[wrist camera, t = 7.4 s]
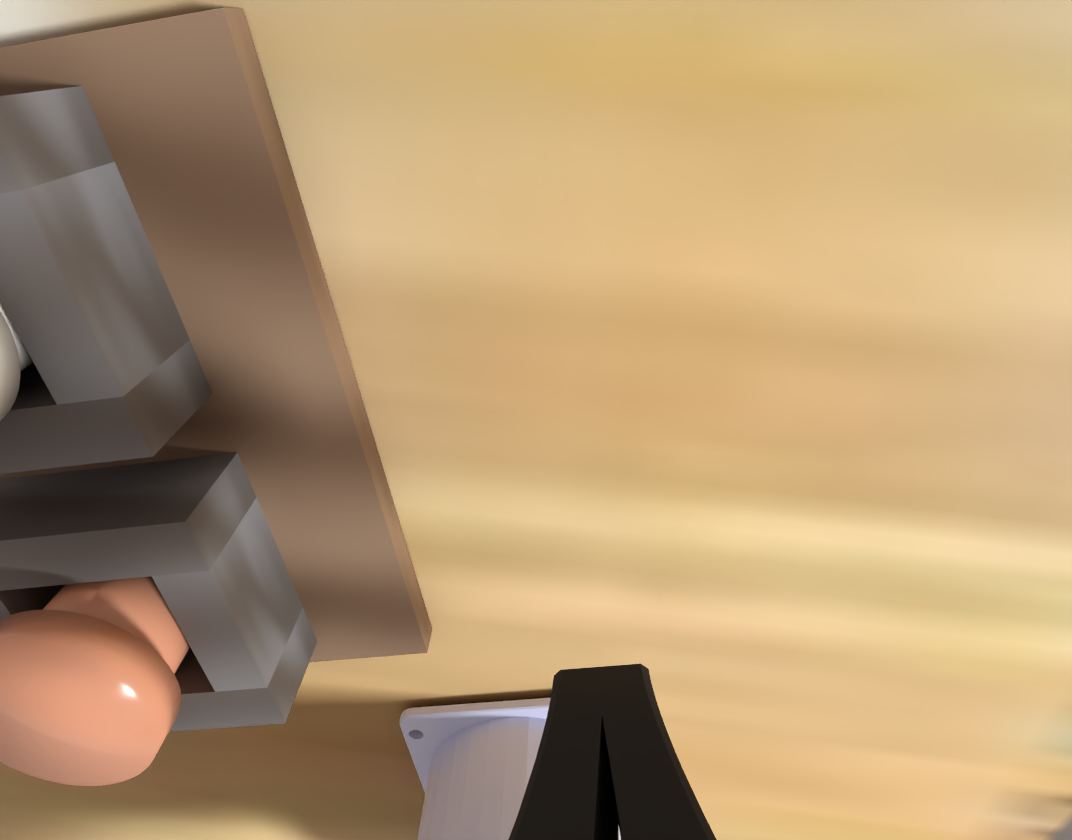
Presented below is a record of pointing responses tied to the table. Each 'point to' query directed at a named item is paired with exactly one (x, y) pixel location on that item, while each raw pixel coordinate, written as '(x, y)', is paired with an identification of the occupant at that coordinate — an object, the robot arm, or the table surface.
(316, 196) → the table surface
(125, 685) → the rust plunger
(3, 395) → the pale plunger
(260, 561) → the board
